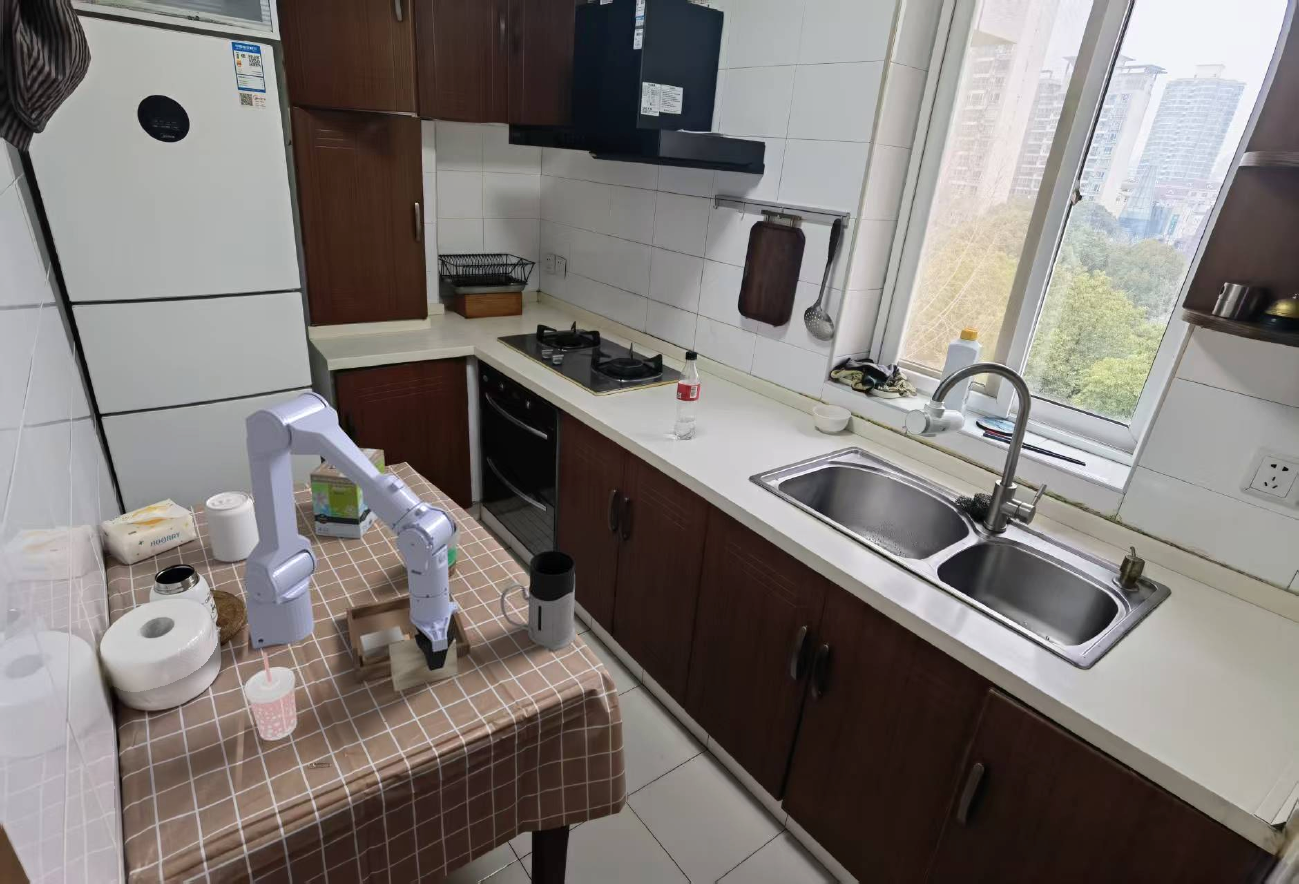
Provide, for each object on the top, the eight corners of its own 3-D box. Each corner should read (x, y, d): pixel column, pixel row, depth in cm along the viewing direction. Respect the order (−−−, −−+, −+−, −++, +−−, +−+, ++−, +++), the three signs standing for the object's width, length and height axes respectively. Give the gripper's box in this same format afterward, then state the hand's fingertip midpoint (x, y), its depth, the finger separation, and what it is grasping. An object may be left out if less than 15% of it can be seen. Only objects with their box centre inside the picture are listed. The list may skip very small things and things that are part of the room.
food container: (443, 596, 127) (441, 551, 123) (413, 590, 127) (410, 545, 124) (472, 561, 138) (471, 519, 134) (444, 556, 139) (442, 514, 135)
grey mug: (585, 637, 119) (588, 566, 113) (515, 671, 110) (515, 596, 104) (557, 612, 125) (559, 543, 119) (488, 643, 116) (487, 569, 110)
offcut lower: (364, 671, 106) (362, 661, 106) (361, 654, 110) (360, 645, 109) (413, 658, 110) (412, 649, 109) (409, 643, 113) (408, 633, 112)
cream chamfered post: (394, 692, 103) (391, 656, 100) (392, 679, 106) (388, 644, 103) (457, 676, 107) (455, 641, 105) (453, 664, 110) (451, 629, 107)
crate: (357, 686, 104) (355, 672, 103) (347, 621, 118) (345, 608, 117) (470, 657, 112) (469, 644, 111) (448, 599, 126) (448, 587, 125)
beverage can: (263, 557, 134) (254, 504, 129) (215, 568, 129) (204, 513, 124) (258, 538, 140) (249, 487, 135) (212, 548, 135) (201, 495, 130)
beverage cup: (291, 708, 100) (277, 632, 94) (310, 730, 96) (298, 653, 91) (246, 731, 95) (230, 653, 90) (266, 756, 92) (249, 676, 86)
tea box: (362, 539, 142) (356, 477, 136) (315, 536, 142) (306, 473, 136) (389, 505, 156) (384, 447, 150) (345, 502, 156) (339, 444, 150)
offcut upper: (365, 660, 106) (364, 650, 105) (361, 646, 109) (360, 636, 108) (405, 649, 109) (404, 639, 108) (399, 635, 112) (398, 625, 111)
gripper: (467, 608, 96) (469, 682, 102) (446, 556, 108) (449, 624, 113) (416, 620, 93) (421, 695, 98) (400, 564, 105) (405, 634, 110)
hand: (433, 658), depth 106 cm, fingers open, 4 cm apart
